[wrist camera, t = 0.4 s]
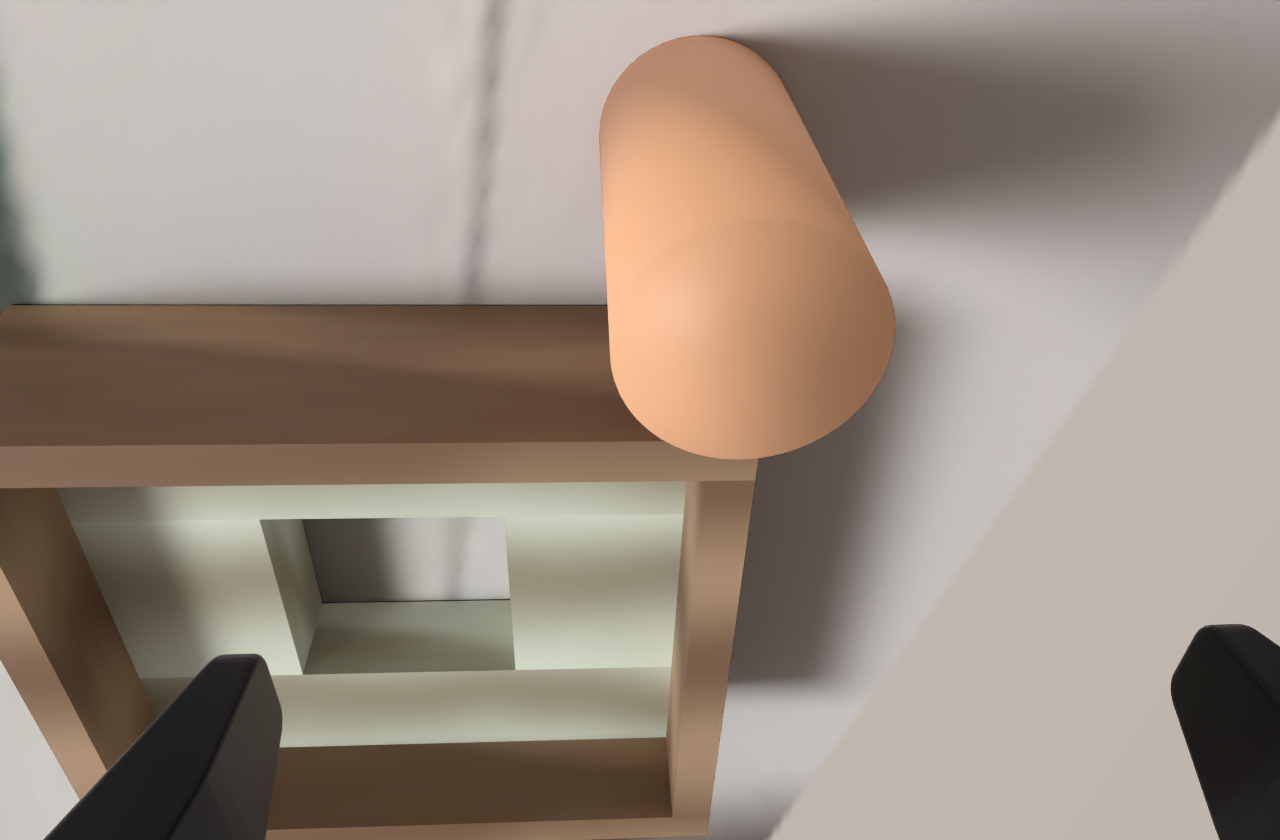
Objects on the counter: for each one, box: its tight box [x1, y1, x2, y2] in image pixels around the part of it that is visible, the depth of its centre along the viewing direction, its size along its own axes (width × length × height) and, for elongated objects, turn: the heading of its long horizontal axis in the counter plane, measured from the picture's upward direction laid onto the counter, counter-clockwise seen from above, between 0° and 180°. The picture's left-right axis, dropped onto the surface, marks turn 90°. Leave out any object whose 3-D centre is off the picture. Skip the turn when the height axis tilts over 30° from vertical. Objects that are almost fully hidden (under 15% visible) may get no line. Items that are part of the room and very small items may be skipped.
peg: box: [599, 36, 895, 460], centre depth 17 cm, size 4×4×8 cm
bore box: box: [0, 305, 758, 840], centre depth 24 cm, size 14×16×5 cm
